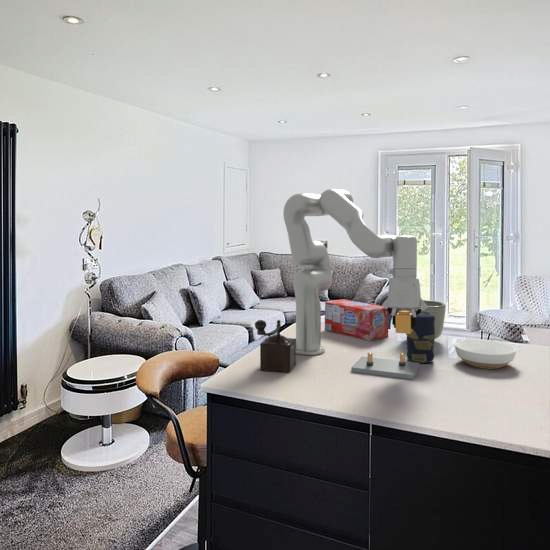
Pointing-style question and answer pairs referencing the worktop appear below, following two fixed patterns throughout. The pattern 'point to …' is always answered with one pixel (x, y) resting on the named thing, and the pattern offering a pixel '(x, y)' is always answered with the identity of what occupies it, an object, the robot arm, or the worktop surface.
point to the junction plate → (386, 368)
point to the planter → (437, 311)
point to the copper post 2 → (402, 359)
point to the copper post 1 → (369, 360)
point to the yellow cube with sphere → (403, 322)
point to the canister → (422, 339)
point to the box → (356, 319)
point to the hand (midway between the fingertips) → (404, 327)
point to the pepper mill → (276, 350)
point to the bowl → (485, 353)
